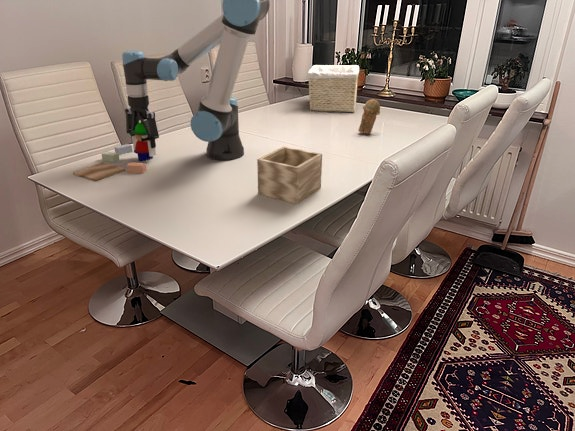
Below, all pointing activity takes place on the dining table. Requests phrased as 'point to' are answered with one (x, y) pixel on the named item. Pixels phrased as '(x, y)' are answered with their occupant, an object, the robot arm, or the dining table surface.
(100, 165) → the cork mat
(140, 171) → the terracotta brick
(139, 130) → the toy
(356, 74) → the basket
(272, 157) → the birch crate
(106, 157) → the sage brick
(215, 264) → the dining table surface
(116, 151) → the slate brick
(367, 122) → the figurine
